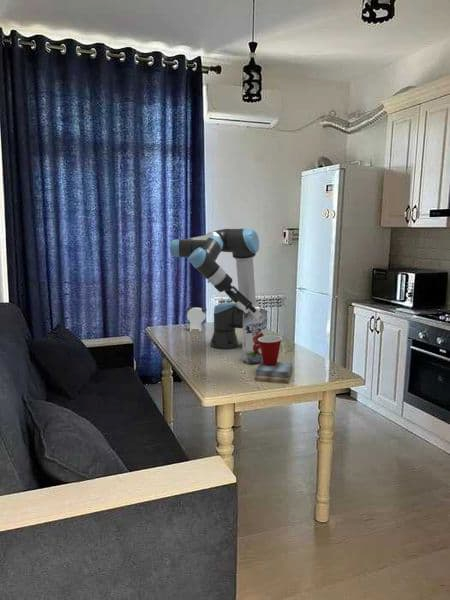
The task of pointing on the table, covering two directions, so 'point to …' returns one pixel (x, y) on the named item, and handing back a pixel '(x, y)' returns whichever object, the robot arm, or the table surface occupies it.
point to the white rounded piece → (196, 317)
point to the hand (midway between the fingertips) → (253, 313)
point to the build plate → (273, 379)
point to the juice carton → (253, 335)
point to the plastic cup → (270, 349)
